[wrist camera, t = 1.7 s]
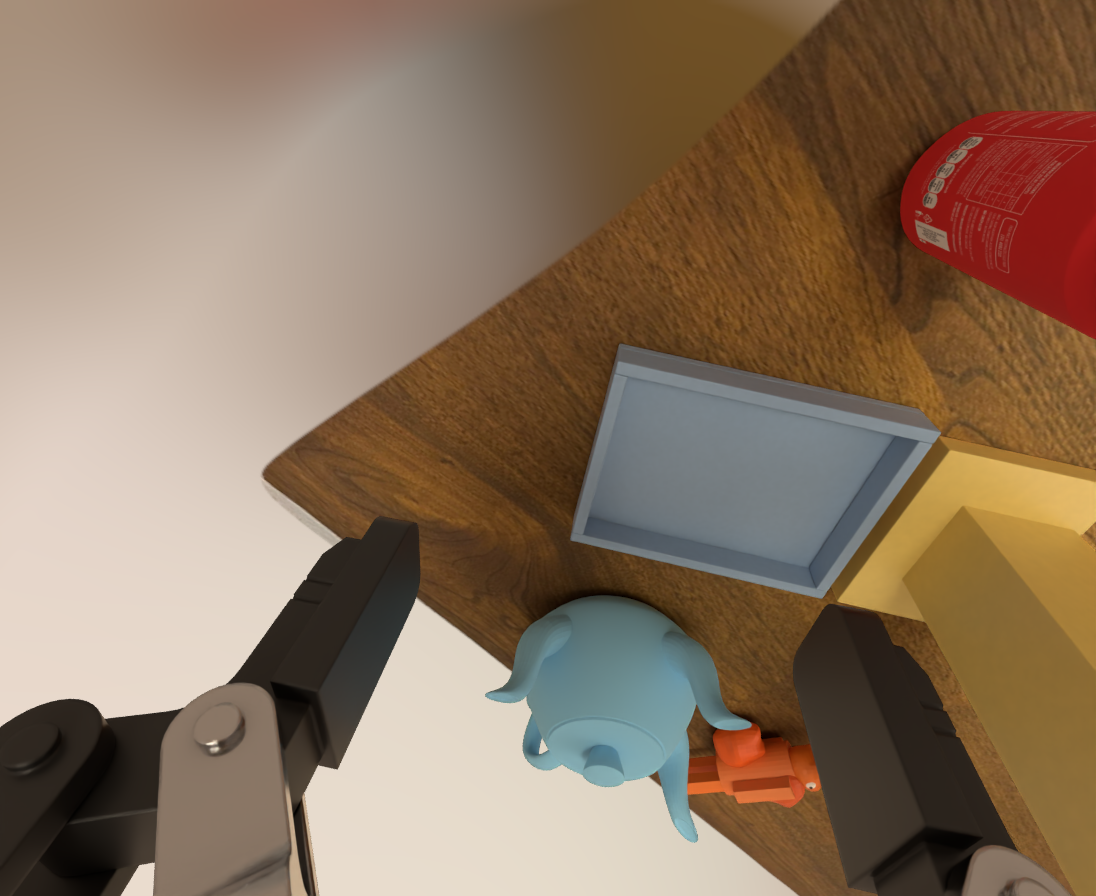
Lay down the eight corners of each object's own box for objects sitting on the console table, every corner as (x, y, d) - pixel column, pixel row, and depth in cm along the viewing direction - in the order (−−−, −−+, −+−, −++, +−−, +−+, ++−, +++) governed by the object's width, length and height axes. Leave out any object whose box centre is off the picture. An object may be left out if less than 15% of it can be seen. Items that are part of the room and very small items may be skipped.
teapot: (517, 677, 45) (489, 807, 37) (518, 555, 37) (482, 688, 29) (686, 704, 44) (697, 848, 35) (728, 584, 36) (755, 734, 27)
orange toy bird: (693, 828, 43) (847, 819, 39) (659, 755, 42) (813, 736, 38) (695, 777, 48) (833, 763, 44) (664, 710, 47) (802, 688, 43)
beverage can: (986, 77, 19) (1345, 46, 10) (1065, 172, 21) (1458, 231, 11) (862, 198, 22) (1040, 271, 12) (938, 275, 23) (1157, 399, 13)
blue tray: (619, 342, 27) (617, 361, 25) (920, 408, 27) (942, 432, 25) (574, 515, 34) (569, 540, 32) (811, 570, 34) (822, 599, 32)
